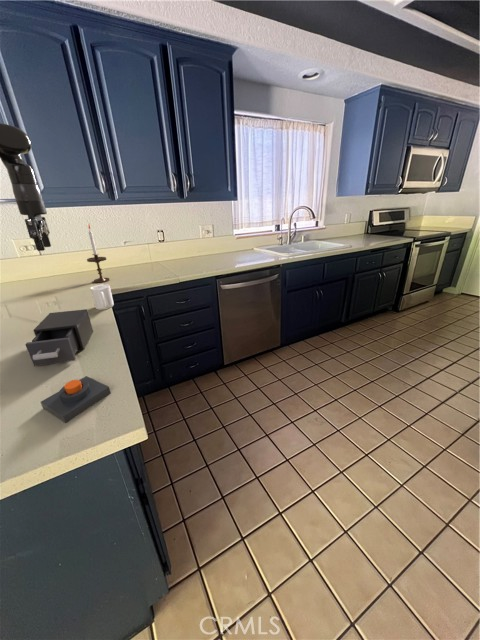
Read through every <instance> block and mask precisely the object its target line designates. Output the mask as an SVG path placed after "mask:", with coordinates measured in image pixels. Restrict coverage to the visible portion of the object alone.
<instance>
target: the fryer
mask: <svg viewBox="0 0 480 640" xmlns="http://www.w3.org/2000/svg"><path fill="white" fill-rule="evenodd" d="M74 327H75V330H76V333H77V337H78V340H79V343H80V346H79V348H78V350H77V352H78V351H84V350H85V349H86V348H87V345H88V343H89V340H90V339H91V337H92V335H93V333H94V329H93V326H92V322H91V318H90V314H89V311H88V308H86V309H84V308H83V309H75V310H66V311H56V312H49V313H48V314H47V316H45V317H44V318H43V319H42V321H40V322H39V324H37V325H36V326H35V328H34V329H33V332H34V337H35V336H36V335H37V334H38V333H39V332H40V331H48V330H57V329H65V328H74Z"/></svg>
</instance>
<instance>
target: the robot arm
mask: <svg viewBox="0 0 480 640" xmlns="http://www.w3.org/2000/svg"><path fill="white" fill-rule="evenodd" d="M32 143H33V142H32V140H31V138H30V137H29V135H28V134H27V133H26V132H25V131H23V130H22V129H21V128H19V127H16V126H14V125H11V124H7V123H3V122H0V161H1V162H2V164H3V166H4V168H5V169H6V171H7V175H8V178H9V180H10V183H11V188H12V193H13V195H14V199H15V203H16V205H17V209H18V212H19V214H20V215H21V216H27V218H25V219H24V222H25V226H26V230H27V232H28V236H29V238H30V239H32V240H33V242H34V246H35V248H36V251H38V252H44V251H46V248H50V247H52V244H51V241H50V233H51V232H50V230H49V226H48V223H47V219H46V217H45V216H43V215H47V214H48V211H47V208H46V204H45V200H44V197H43V195H42V191H41V189H40V187H39V183H38V180H37V176H36V173H35V170H34V168H33V166H31V165H29V163H26V162H25V161H24V159H23V157H22V155H25V154H28V153H30V152H31V150H32V148H33V144H32Z"/></svg>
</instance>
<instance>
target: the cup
mask: <svg viewBox="0 0 480 640" xmlns="http://www.w3.org/2000/svg"><path fill="white" fill-rule="evenodd" d="M89 289H90V293H91V297H92V300H93V304H94V307H95V308H96V309H97V310H99V311H101V310H102V311H103V310H108V309H111V308H113V307H114V305H115V303H114V299H113V298H114V297H113V294H112V290H111V285H110V284H107V283H104V284H103V283H100V284H95V285H93V286H91V287H90V288H89Z"/></svg>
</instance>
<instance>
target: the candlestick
mask: <svg viewBox="0 0 480 640" xmlns="http://www.w3.org/2000/svg"><path fill="white" fill-rule="evenodd" d="M88 235H89V240H90V245H91V248H92V253H93V254H91V255H92V257H88V258H86V261H87V262H88V263H95V264H96V266H97V269H96V271H97V275H99V277H98V278H95V279H93V283H95V284H103V283H104V284H105V283H108V282H110V278H109V277H103V272H102V270H103V269H102V268H101V266H100V263H101V262H104V261H106V260H107V257H106V256H99V253H98V251H97V247H96V243H95V239H94V238H95V237H94V234H93V231H92V230H91V225H90V223H88Z"/></svg>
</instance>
